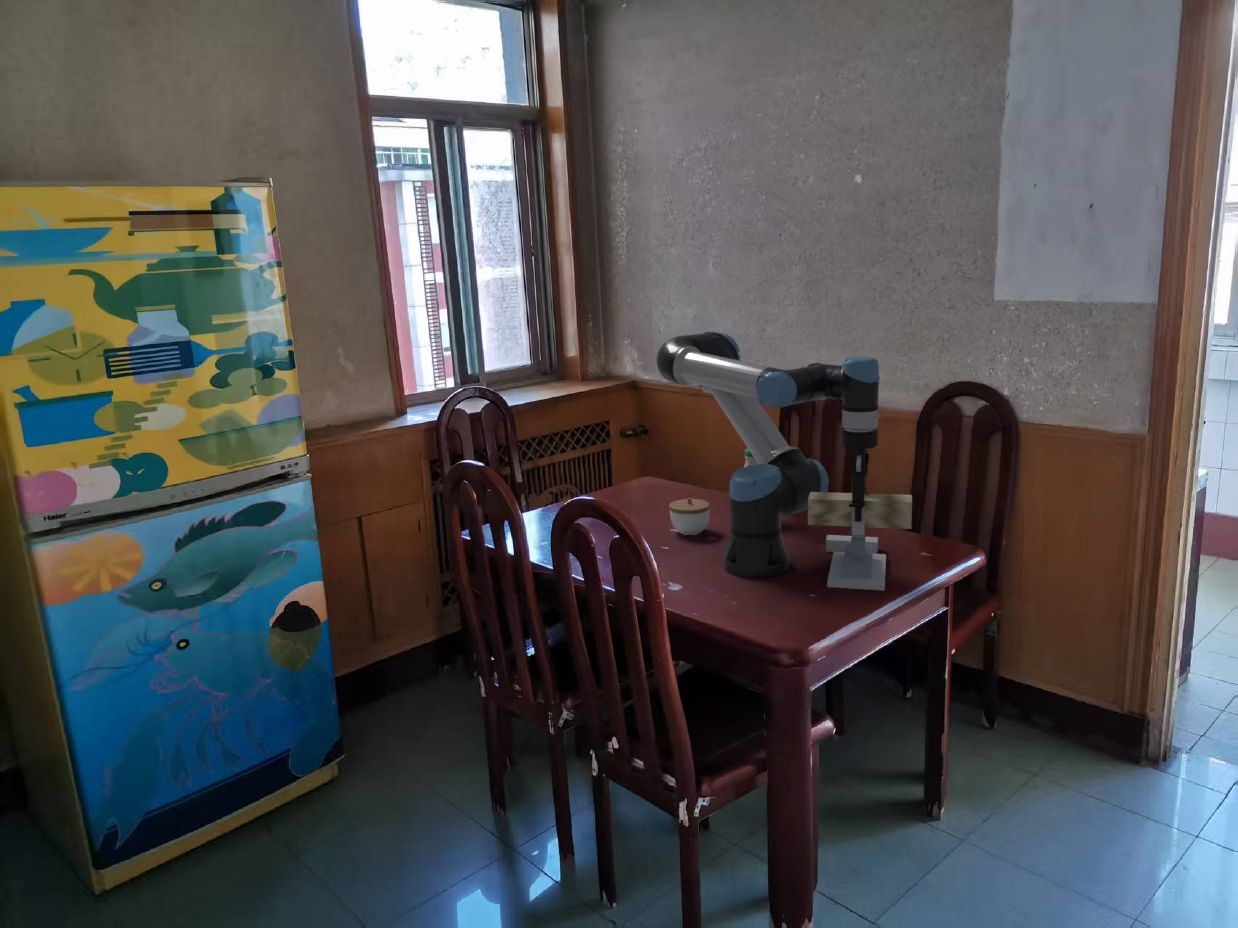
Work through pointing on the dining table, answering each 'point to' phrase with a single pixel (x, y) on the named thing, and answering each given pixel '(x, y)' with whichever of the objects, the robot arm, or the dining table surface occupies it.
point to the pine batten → (877, 510)
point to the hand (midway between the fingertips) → (858, 529)
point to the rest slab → (839, 543)
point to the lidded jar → (689, 515)
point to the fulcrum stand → (857, 567)
